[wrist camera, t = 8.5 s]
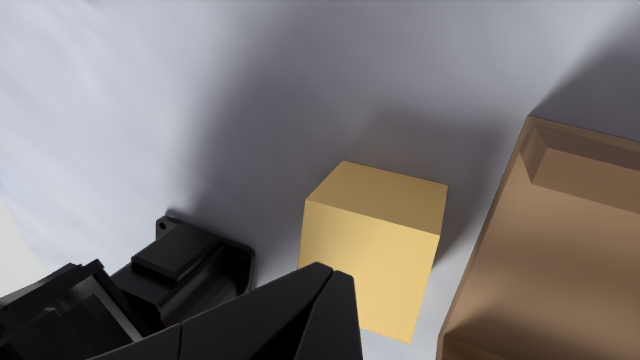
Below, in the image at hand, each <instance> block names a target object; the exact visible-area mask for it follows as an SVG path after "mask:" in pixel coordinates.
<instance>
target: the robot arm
mask: <svg viewBox="0 0 640 360" xmlns="http://www.w3.org/2000/svg"><path fill="white" fill-rule="evenodd" d="M165 225H166V226H165ZM243 253H244V254H246V255H247V257H245V256H244V254H243ZM254 259H255V253H254V251H253V250H252V249H251V248H250V247H248V246H245V245H243V244H240V243H237V242H235V241H232V240H229V239H227V238H224V237H221V236H219V235H216V234H214V233H211V232H208V231H206V230H203V229H200V228H198V227H195V226H192V225H190V224H187V223H184V222H182V221H179V220H176V219H174V218H171V217H168V216H162V217H161V218H159V219H158V220H157V221H156V241H154V242H153V243H151V244H150V245H148V246H147V247H146V248H144V249H143V250H141V251H140V252H138V253H137V254H135V255H134V256H132V258H131V262H130V263H129V264H127V265H126V266H124V267H123V268H121V269H120V270H119V271H117V272H116V273H114V274H113V275H111V276H109V275H108V274H107V273H106V271H105V270H104V269H103V268H104V266H103V264H102V263H101V262H100V261H99V260H98V259H96V260H94V261H92V262H90V263H89V264H87V265H85V266H82V264H79V265H75V264H72V263H69V264H67V265H65V266H63V267H62V268H60V269H58V270H57V271H55V272H53V273H52V274H50V275H48V276H47V277H45V278H43V279H41V280H39V281H37V282H36V283H33V284H31V285H29V286H27V287H25V288H22V289H20V290H18V291H15V292H13V293H11V294H8V295H6V296H4V297H1V298H0V360H363V355H362V346H361V337H360V328H359V318H358V309H357V300H356V291H355V282H354V278H353V276H351V275H349V274H347V273H344V272H342V271H339V270H335V271H334V269H333V268H332V267H330V266H327V265H325V264H323V263H320V262H313V263H311V264H309V265H307V266H305V267H302V268H300V269H298V270H296V271H293V272H291V273H289V274H287V275H285V276H282V277H280V278H278V279H276V280H273V281H271V282H269V283H267V284H265V285H262V286H260V287H258V288H256V289H253V290H251V291H250V289H251V282H252V274H253V267H254Z"/></svg>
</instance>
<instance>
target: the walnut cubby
mask: <svg viewBox="0 0 640 360" xmlns="http://www.w3.org/2000/svg"><path fill="white" fill-rule="evenodd" d="M436 360H640V142H637V141H633V140H629V139H625V138H621V137H616V136H612V135H608V134H604V133H600V132H596V131H592V130H588V129H583V128H579V127H575V126H571V125H567V124H563V123H559V122H555V121H550V120H546V119H542V118H538V117H534V116H530V115H528V116H527V118H526V121H525V123H524V126H523V128H522V131H521V133H520V136H519V138H518V141H517V143H516V145H515V148H514V150H513V153H512V155H511V158H510V160H509V163H508V165H507V168H506V170H505V173H504V175H503V178H502V180H501V182H500V185H499V187H498V190H497V192H496V195H495V197H494V200H493V202H492V205H491V207H490V210H489V212H488V215H487V217H486V219H485V222H484V224H483V227H482V229H481V232H480V234H479V237H478V239H477V242H476V244H475V247H474V249H473V252H472V254H471V256H470V259H469V261H468V264H467V266H466V269H465V271H464V274H463V276H462V279H461V281H460V284H459V286H458V289H457V291H456V293H455V296H454V298H453V301H452V303H451V306H450V308H449V311H448V313H447V316H446V318H445V321H444V323H443V326H442V328H441V330H440V333H439V335H438V343H437V352H436Z"/></svg>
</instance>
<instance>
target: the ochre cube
mask: <svg viewBox="0 0 640 360" xmlns="http://www.w3.org/2000/svg"><path fill="white" fill-rule="evenodd" d="M447 189H448V185H445V184H441V183H436V182H432V181H428V180H424V179H420V178H415V177H411V176H407V175H403V174H398V173H394V172H390V171H386V170H381V169H377V168H373V167H369V166H364V165H360V164H356V163H352V162H347V161H342V162H341V163H340V164H339V165H338V166H337V167H336V168H335V169H334V170H333V171H332V172H331V173H330V174H329V175H328V176H327V177H326V178H325V179H324V180H323V181H322V183H321V184H320V185H319V186H318V187H317V188H316V189H315V190H314V191H313V192H312V193H311V194H310V195H309V196H308V197H307V198H306V199H305V207H304V216H303V224H302V233H301V241H300V250H299V258H298V267H297V270H298V269H300V268H302V267H305V266H307V265H309V264H311V263H313V262H320V263H323V264H325V265H327V266H330V267H332V268H333V269H334V271H335V270H339V271H342V272H344V273H347V274H349V275H351V276H353V278H354V282H355V291H356V300H357V309H358V318H359V327H360V328H363V329H366V330H369V331H372V332H375V333H378V334H381V335H384V336H386V337H389V338H392V339H395V340H398V341H401V342H404V343H407V344H410V343H411V340H412V336H413V332H414V329H415V325H416V322H417V318H418V314H419V311H420V307H421V304H422V300H423V296H424V293H425V289H426V285H427V282H428V278H429V275H430V271H431V267H432V264H433V260H434V257H435V253H436V249H437V246H438V242H439V239H440V234H441V228H442V221H443V215H444V209H445V202H446V196H447Z"/></svg>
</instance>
